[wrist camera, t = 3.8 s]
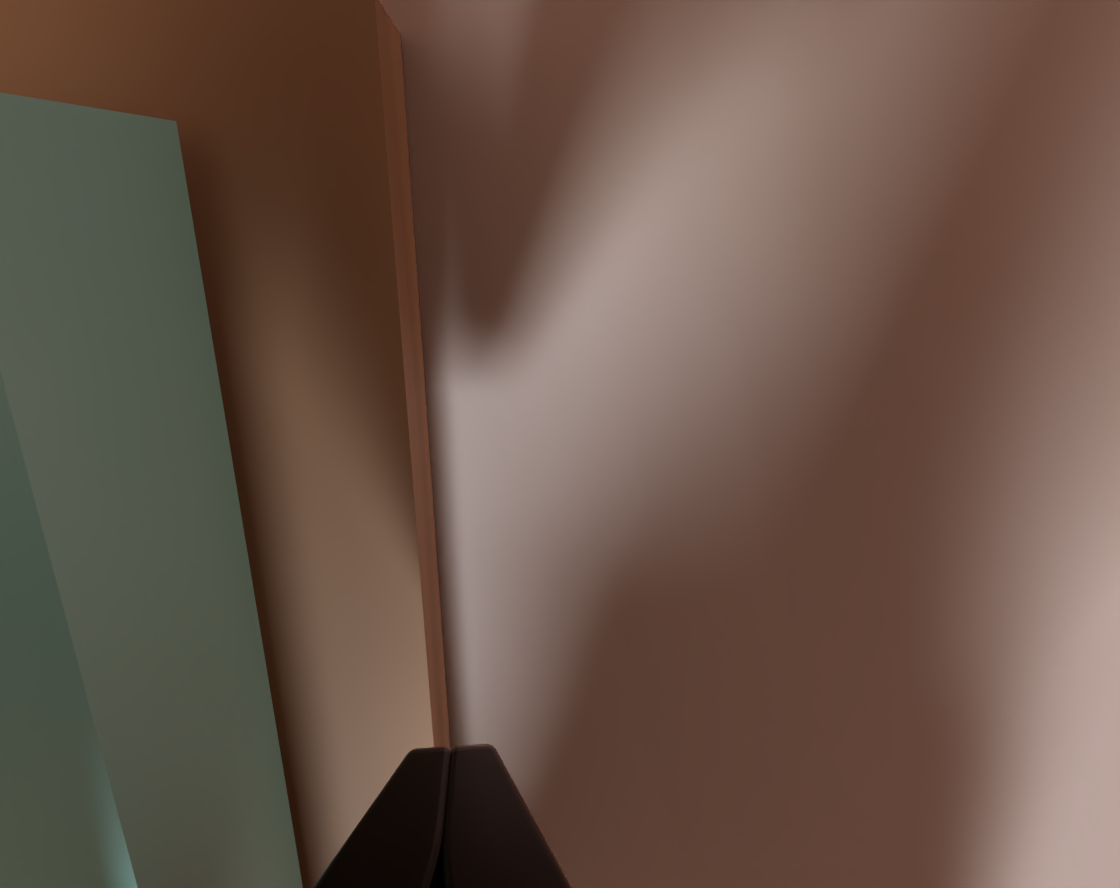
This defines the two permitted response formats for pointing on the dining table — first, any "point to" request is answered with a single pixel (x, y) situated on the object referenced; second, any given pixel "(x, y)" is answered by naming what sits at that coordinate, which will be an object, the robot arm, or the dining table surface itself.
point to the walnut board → (296, 348)
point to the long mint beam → (121, 532)
